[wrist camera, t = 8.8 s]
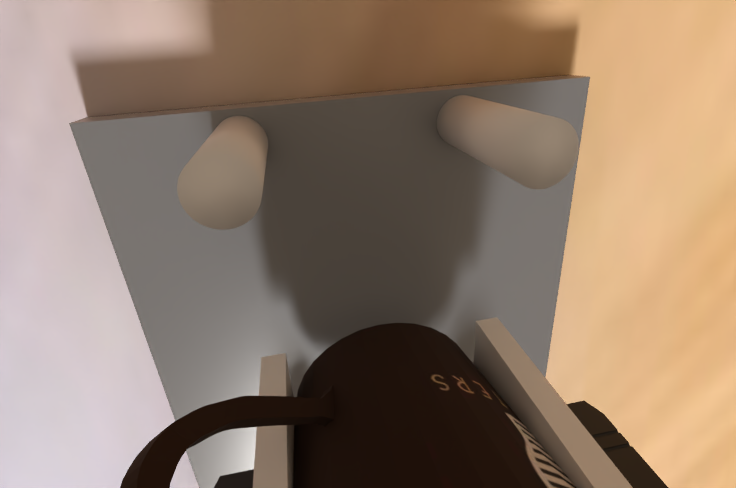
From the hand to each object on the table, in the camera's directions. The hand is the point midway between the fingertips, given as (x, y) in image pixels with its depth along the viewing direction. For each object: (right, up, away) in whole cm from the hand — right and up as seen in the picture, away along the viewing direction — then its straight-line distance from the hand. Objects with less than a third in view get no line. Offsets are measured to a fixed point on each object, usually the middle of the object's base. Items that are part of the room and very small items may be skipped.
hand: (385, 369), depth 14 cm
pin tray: (-1, +2, +3) cm, 4 cm away
